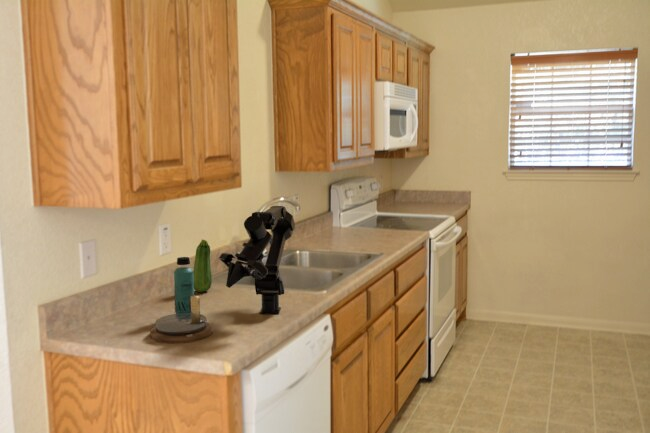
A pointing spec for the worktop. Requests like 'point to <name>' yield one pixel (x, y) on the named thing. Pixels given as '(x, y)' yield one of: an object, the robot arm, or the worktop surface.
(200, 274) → the vegetable
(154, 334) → the stand base
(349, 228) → the worktop surface
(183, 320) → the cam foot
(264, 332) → the worktop surface
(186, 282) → the beverage bottle
